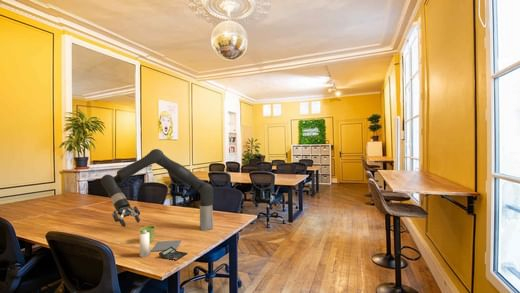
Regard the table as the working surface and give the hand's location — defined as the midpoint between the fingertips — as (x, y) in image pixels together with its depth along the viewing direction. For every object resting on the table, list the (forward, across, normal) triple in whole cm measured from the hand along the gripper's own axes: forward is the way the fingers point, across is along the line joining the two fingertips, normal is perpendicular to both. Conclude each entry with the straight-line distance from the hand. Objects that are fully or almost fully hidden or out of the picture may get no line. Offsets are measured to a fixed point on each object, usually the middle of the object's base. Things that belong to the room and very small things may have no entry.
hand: (131, 223), depth 140 cm
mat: (+20, +14, +3) cm, 24 cm away
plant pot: (+8, +14, +15) cm, 22 cm away
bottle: (+19, 0, +3) cm, 19 cm away
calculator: (+30, +7, -7) cm, 32 cm away
